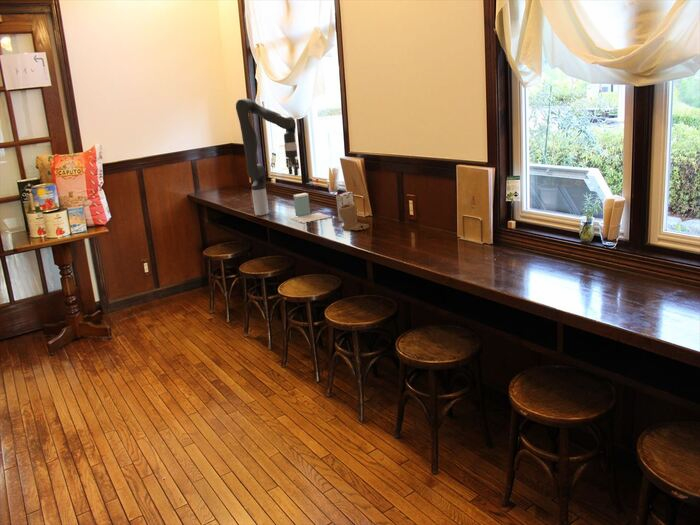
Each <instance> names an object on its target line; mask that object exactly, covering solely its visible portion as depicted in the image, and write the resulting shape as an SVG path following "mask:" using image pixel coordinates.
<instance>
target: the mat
mask: <svg viewBox="0 0 700 525" xmlns="http://www.w3.org/2000/svg"><path fill="white" fill-rule="evenodd" d="M329 217H331V218H332V216H330V215H328V214H324V213H321V212H316V213H310V215H305V216H300V217H291V218H290V220H292V219H293V221H295V220H296V221H295V222H297V221H299V222H298V223H300V222H302V223H301V224H306V223H305V222H308V223H311V221H313V222H317V221H321V220H320V219H322V220H326V219H325V218H327V219H330V218H329ZM316 220H317V221H316Z"/></svg>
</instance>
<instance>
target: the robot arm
mask: <svg viewBox="0 0 700 525" xmlns="http://www.w3.org/2000/svg"><path fill="white" fill-rule="evenodd" d="M235 111H236V115H237V118H238V122H239V126H240V131H241V137H242V143H243V144H242V145H243V147H244V156H245V160H246V162H245V163H246V173H247V176H248V178H249V179H250V180H252V181H253V183H252V184H251V194H252V200H253V208H254V210H253V211H254V215H255V216H258V215H259V216H266V215H268V213H269V214H270V212H269V211H270V210H269V203H268V196H267V189H266V188H267V187H266V185H267V178H266V175H267V174H266V169H265V167H264V165H263V164H261V163H257V152H258V146H259V145H258V136H257V133H256V130H255V128H254V127H253V125H252V123H251V120H250V114H252V115H256V116H258V117H261V118H262V119H264V120H265V121H267V122H269V123H271V124H274V125H276V126H277V127H279V128H281V129H282V130H283V129H284V130H285V133H284V135H283V140H284V141H283V142H284V154H285V164H286V165H285V166H286V168H287V169H288V174H289V175H293V173H294V177H295V176H299V171H298V170H299V169H300V164H299V159H297V157H298V149H297V148H298V147H297V143H296V120H295V119H294V118H293V117H292V116H288V117H284V116H283V115H281V114H280V113H278V112H276V111H273V110H271V109H268V108H265V107H263V106H262V105H260V104H258V103H256V102H255V101H253V100H251V99H250V98H241V99H238V100H237V101H236V103H235ZM265 214H266V215H265Z"/></svg>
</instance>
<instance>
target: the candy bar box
mask: <svg viewBox="0 0 700 525" xmlns="http://www.w3.org/2000/svg"><path fill="white" fill-rule="evenodd" d="M335 199H336V209H337V217H338V222H339V221H341V222H340V223H344V222H343V219H342V218H341V216H340V213H339V207H340V206H342V205H345V204H352V203H353V204H355V200H354V192H353V191H345V192H343V193H342V192H341V193H339V194H337V195H335Z"/></svg>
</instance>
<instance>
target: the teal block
mask: <svg viewBox="0 0 700 525" xmlns="http://www.w3.org/2000/svg"><path fill="white" fill-rule="evenodd" d="M293 202H294V203H293V204H294V211H295V212H294V213H295V216H298V217H300V216H305V215H310V214H311V209H310V198H309V193H307V192H303V193H296V194H293Z"/></svg>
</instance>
